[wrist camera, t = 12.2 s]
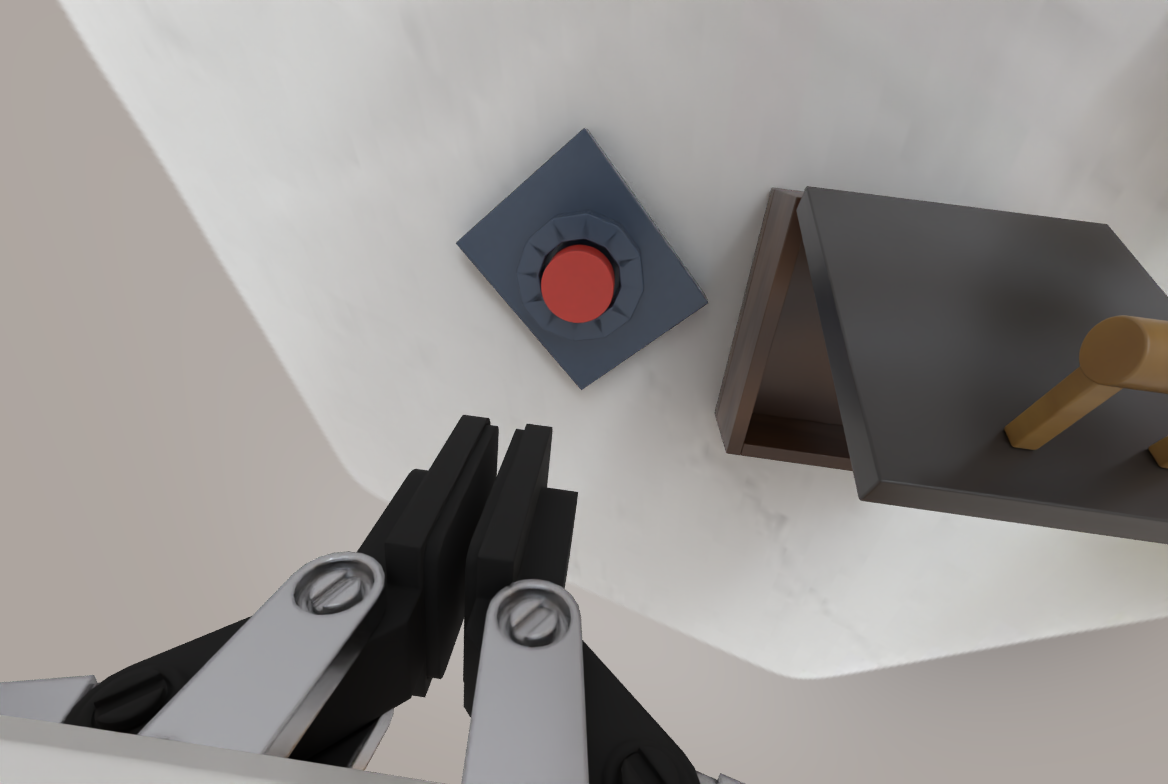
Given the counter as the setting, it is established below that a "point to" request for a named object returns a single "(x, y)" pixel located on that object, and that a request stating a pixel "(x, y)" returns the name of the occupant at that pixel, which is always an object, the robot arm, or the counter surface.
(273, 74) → the counter surface
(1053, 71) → the counter surface
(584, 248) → the red push button
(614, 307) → the blue button base
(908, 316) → the dark slab with handle
